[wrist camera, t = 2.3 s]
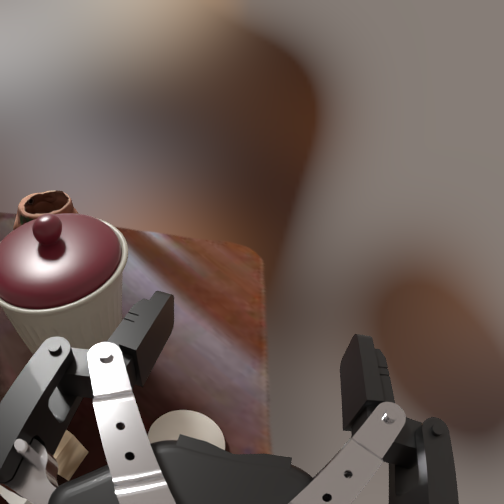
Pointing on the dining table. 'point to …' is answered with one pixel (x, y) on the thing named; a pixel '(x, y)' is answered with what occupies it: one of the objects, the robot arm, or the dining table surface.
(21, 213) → the decorative planter
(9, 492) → the white rectangular block
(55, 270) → the canister
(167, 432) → the cream saucer
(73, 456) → the beech block
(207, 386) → the dining table surface
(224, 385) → the dining table surface
